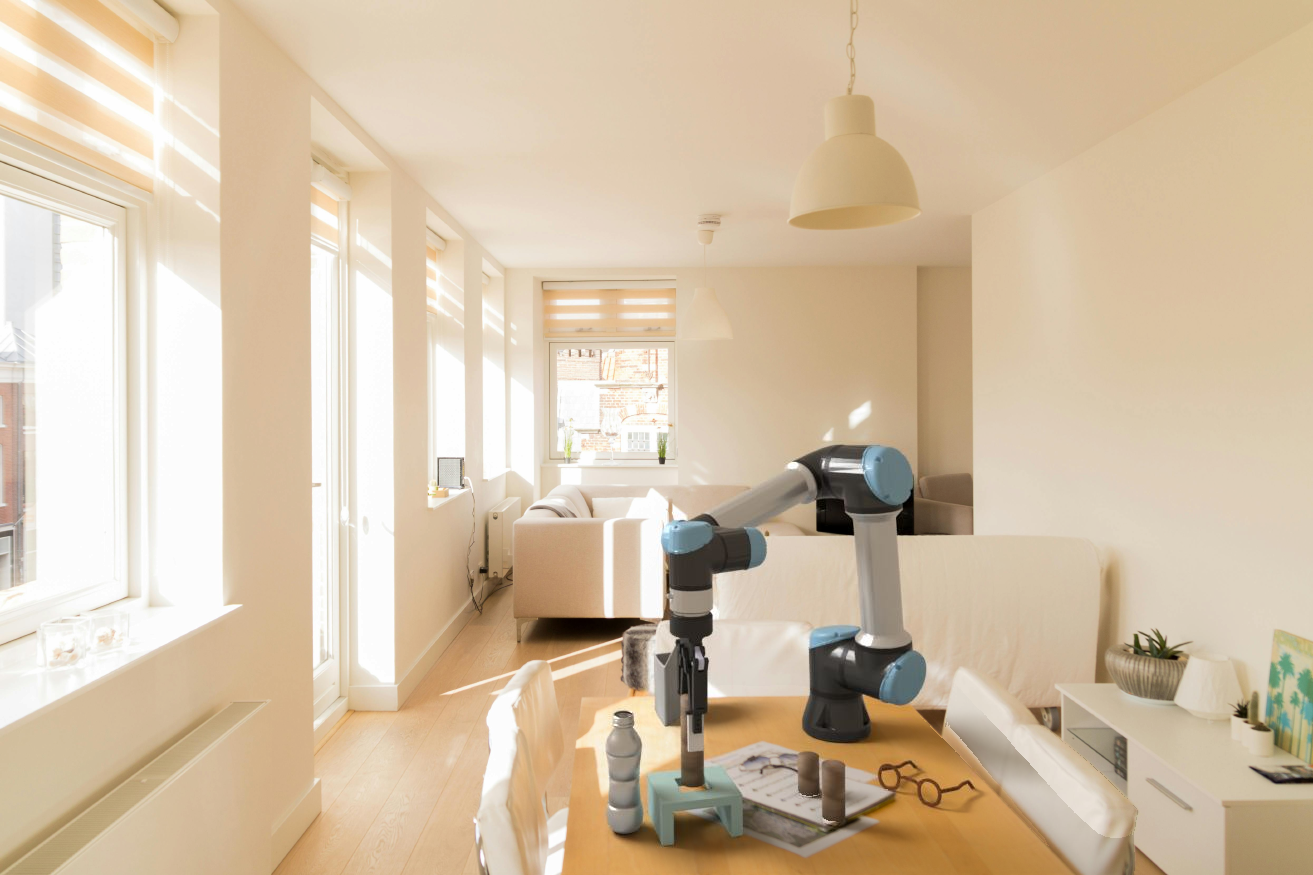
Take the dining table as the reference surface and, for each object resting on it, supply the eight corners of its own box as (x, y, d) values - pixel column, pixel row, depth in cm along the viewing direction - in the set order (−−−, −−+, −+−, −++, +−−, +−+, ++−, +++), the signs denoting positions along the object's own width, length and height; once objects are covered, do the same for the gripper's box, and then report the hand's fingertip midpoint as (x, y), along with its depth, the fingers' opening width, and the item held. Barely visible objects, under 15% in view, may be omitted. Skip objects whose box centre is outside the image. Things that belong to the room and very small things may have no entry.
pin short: (814, 786, 155) (814, 750, 155) (823, 795, 151) (822, 758, 151) (794, 788, 154) (794, 752, 154) (802, 798, 151) (802, 761, 150)
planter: (671, 698, 204) (670, 622, 204) (699, 704, 200) (698, 626, 200) (637, 720, 190) (636, 638, 190) (666, 726, 186) (665, 642, 186)
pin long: (700, 775, 144) (699, 692, 144) (706, 785, 140) (706, 699, 140) (678, 778, 143) (677, 694, 143) (684, 788, 139) (683, 701, 139)
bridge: (722, 802, 149) (721, 764, 149) (742, 835, 138) (742, 794, 137) (647, 811, 146) (647, 773, 146) (662, 845, 135) (661, 804, 134)
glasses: (876, 787, 155) (876, 761, 155) (914, 767, 164) (914, 743, 164) (939, 812, 145) (939, 785, 145) (976, 790, 154) (976, 764, 154)
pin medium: (839, 813, 145) (839, 758, 144) (849, 824, 141) (849, 767, 140) (818, 816, 144) (818, 760, 143) (827, 827, 140) (827, 770, 140)
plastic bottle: (611, 841, 136) (609, 723, 136) (602, 822, 143) (600, 709, 142) (648, 835, 138) (646, 718, 137) (638, 816, 145) (636, 705, 144)
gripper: (659, 601, 148) (660, 728, 149) (681, 624, 132) (683, 767, 132) (699, 599, 150) (700, 724, 151) (726, 621, 133) (727, 762, 134)
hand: (692, 744), depth 142 cm, fingers closed on pin long, 4 cm apart
